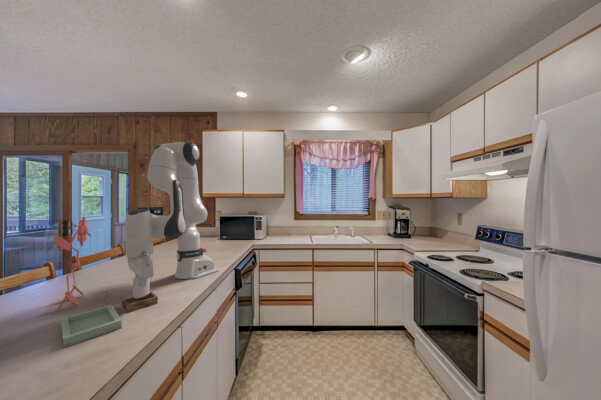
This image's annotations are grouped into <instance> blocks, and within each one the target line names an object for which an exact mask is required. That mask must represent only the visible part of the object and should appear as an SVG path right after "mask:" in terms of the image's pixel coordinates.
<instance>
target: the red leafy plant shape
mask: <svg viewBox="0 0 601 400" xmlns="http://www.w3.org/2000/svg"><path fill="white" fill-rule="evenodd" d="M86 218H87V217H85V216H82V219H80V220H78V226H77V230H76V232H75V233H74V234H73V236H72V237H71V238H70V240H69V241H68V240H67V239H65V238H63V237H61V236H58V235H54V242H55V244H56V247H57V251H58V252H59V253H61V252H62V250H64V251H68V252H71V250H74V251H76V262H74V263H72V264H71V269H72V270H71V272H70V273H69V274H67V275H66V284H67V285H66V286H67V291H65V292H64V296H65V297H64V298H63V299H62V301H61V302H60V304H59V306H58V307H57V310H60V308H61V307H62V306H63V304H64V303H65V301H68V302H70V303H71V304H72V305H74V306H76V307H79V302H78V299H77V298H76V297H75V295H73V292H74V290H76V291H77V292H78V293H79V294H80V295H81V296H84V297H85V294H84V293H83V291H82V290H80V289H79V288H78V287H77V283H76V278H75V273H74V271H75V270H78V269H79V268H81V263H79V255H80V250H79V249H77V248H75V247H73V246H72V245H73V242H74V240H75V239H77V242H79V245H80V247H83V246H84V242H86V241H87V237H88V236H89V237H90V238H92V235H91V234H90V233H89V227H88V226H89V223H88V221H87V220H86ZM76 237H77V238H76ZM71 274H72V278H73V283H74V284H73V285H72V289H71V290H70V287H69V276H70V275H71ZM100 292H101V293H102V292H103V293H104V291H101V290H100ZM106 294H107V295H109V294H108V292H106ZM107 297H108V296H106V297H105V299H106V298H107ZM53 315H56V314H53V313H52V314H51V316H53Z"/></svg>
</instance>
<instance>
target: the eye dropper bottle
mask: <svg viewBox="0 0 601 400" xmlns="http://www.w3.org/2000/svg"><path fill="white" fill-rule="evenodd" d="M150 284H151V283H150V278H147V281H146V286H144V287H141V286H140V277H139V276H138V275H137V276H135V277H133V279H132V297H133V298H136V299H138V298H141V297H144V296H146V295H148V294H149V293H150V292H151V291H150V288H151V285H150Z"/></svg>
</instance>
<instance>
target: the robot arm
mask: <svg viewBox="0 0 601 400" xmlns="http://www.w3.org/2000/svg"><path fill="white" fill-rule="evenodd" d="M200 155H201V153H200V149H199V146H197V145H196V144H195V143H194V142H189V141H186V142H182V141H181V142H178V141H177V142H175V141H174V142H169V143H161V144H158V145H155V147H154V148H153V150H152V154H151V158H150V161H149V165H148V171H147V180H148V182H149V183H150V185H151V186H152V187H153V188H156V189H157V190H160V191H163V192H166V193H167V194H168V195H169V207H170V213H169V214H168V215H156V214H154V213H151V210H150V209H149V208H138V209H132V210H130V211H128V212H127V213H126V215H125V221H124V233H125V236H126V242H125V249H124V250H125V251H124V253H125V257H127V264H128V268H129V270H130V271H131V272H133V273H134V275H135V277H136V276H137V275H138V276H139V277H140V286H141V287H144V286H146V281H147V278H149V279H152V278H154V275H155V271H154V260H153V257H152V256H151V255H152V254H154V239H155V238H156V239H175V240H176V239H177V250H176V261H177V264H176V270H175V275H174V278H176V279H181V280H182V279H183V280H185V279H186V280H187V279H188V280H189V279H199V278H202V277H205V276H208V275H211V274H214V273H217V272H219V271H220V270H219V269H220V268H219V267H218V266H215V262H214V259H212V258H211V257H210V256H208V255H206V254H204V253H207V249H206V248H202V247H201V234H200V232H199V231H198V229H197V225H199V224H203V223H204V222H206V220H207V218H208V210H207V208H206V207H205V206H204V204H203V202H202V199H201V196H200V191H199V190H200V189H199V175H198V169H197V165H196V164H197V163H198V162H199V159H200ZM153 238H154V239H153Z"/></svg>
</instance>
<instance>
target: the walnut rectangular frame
mask: <svg viewBox="0 0 601 400" xmlns="http://www.w3.org/2000/svg"><path fill="white" fill-rule="evenodd" d="M158 300H159V299H158V296H157V294H155V293H154V292H153V291H150V293H149V294H148V295H146V296H144V297H141V298H138V299H136V298H133V296H130V297H129V296H128V297H126V298H122V299H121V308H122V309H123V310H124V311H125V313H129V312H132V311H133V312H134V311H137V310H140V309H143V308H146V307H149V306H152V305H156V304H158V302H159V301H158Z"/></svg>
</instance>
